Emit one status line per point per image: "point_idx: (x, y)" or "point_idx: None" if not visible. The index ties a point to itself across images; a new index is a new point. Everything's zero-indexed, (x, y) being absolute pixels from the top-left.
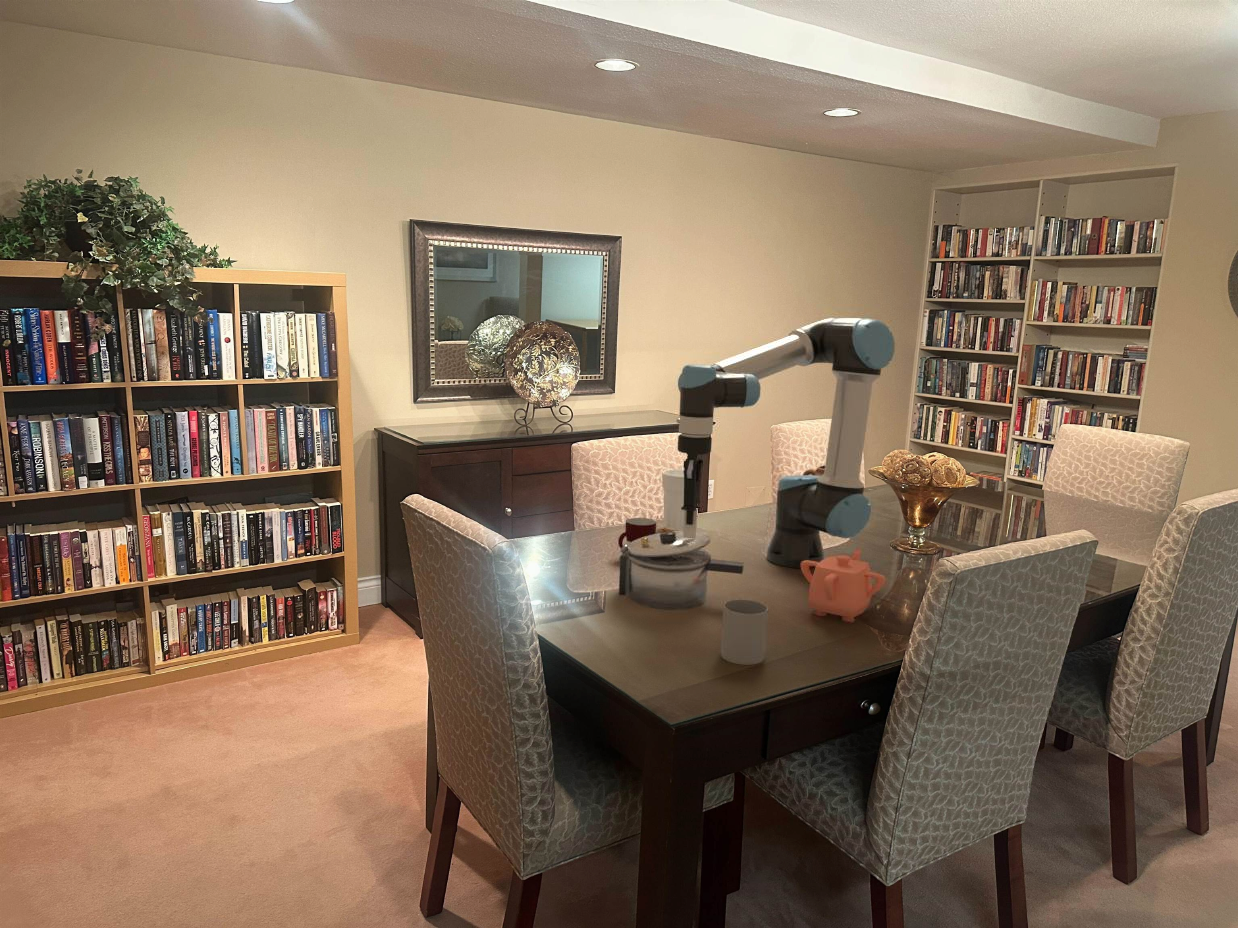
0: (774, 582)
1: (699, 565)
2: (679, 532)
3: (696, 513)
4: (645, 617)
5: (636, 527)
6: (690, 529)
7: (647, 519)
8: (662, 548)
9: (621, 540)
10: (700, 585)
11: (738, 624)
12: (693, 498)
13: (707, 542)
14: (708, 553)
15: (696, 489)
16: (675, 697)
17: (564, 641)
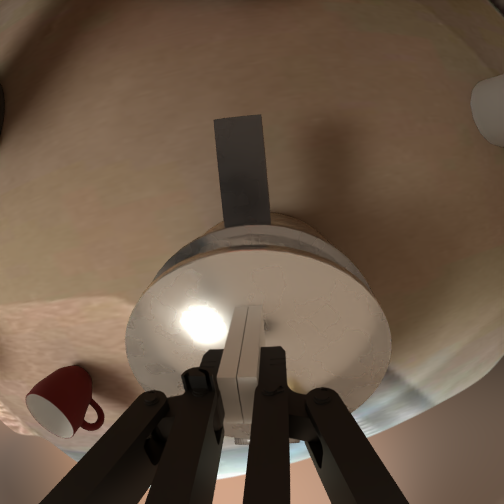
0: (79, 105)
1: (330, 244)
2: (149, 362)
3: (248, 366)
4: (397, 301)
5: (74, 421)
6: (262, 340)
7: (28, 404)
8: (346, 370)
9: (100, 424)
10: (299, 227)
11: None
12: (367, 443)
13: (282, 250)
14: (192, 244)
15: (281, 488)
16: None
17: (488, 361)
